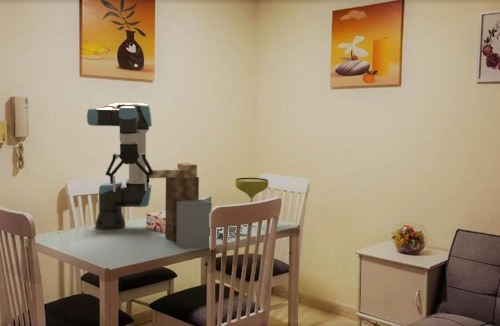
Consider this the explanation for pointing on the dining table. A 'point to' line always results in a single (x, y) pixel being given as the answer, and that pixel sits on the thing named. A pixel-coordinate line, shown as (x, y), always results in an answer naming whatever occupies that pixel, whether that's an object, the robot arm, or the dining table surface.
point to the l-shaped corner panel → (231, 231)
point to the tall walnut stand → (178, 192)
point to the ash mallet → (177, 171)
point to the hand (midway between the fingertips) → (130, 190)
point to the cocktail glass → (251, 185)
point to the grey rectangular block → (193, 223)
